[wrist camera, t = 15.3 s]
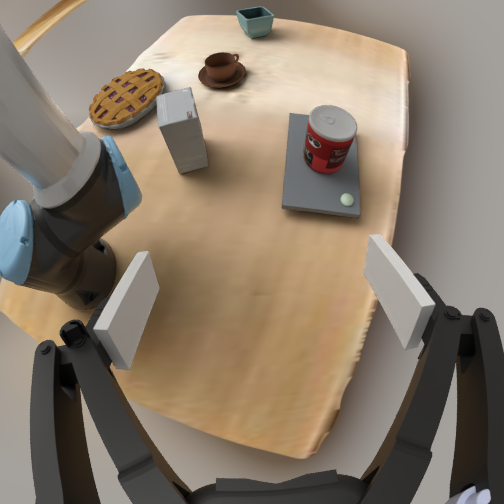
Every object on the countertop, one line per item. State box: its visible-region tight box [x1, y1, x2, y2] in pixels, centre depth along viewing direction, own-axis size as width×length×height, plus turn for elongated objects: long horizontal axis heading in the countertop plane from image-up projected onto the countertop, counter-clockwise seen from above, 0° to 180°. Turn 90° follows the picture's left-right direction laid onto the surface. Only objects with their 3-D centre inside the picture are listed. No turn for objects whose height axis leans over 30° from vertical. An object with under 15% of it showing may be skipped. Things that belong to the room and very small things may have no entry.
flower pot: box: [236, 7, 274, 38], centre depth 63 cm, size 9×9×9 cm
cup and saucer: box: [198, 52, 245, 88], centre depth 59 cm, size 12×12×6 cm
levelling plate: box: [282, 113, 360, 218], centre depth 51 cm, size 14×22×3 cm, turn 173°
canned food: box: [303, 105, 357, 174], centre depth 45 cm, size 8×8×11 cm
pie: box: [89, 69, 165, 129], centre depth 59 cm, size 22×22×5 cm
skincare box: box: [157, 87, 209, 174], centre depth 47 cm, size 8×7×16 cm
